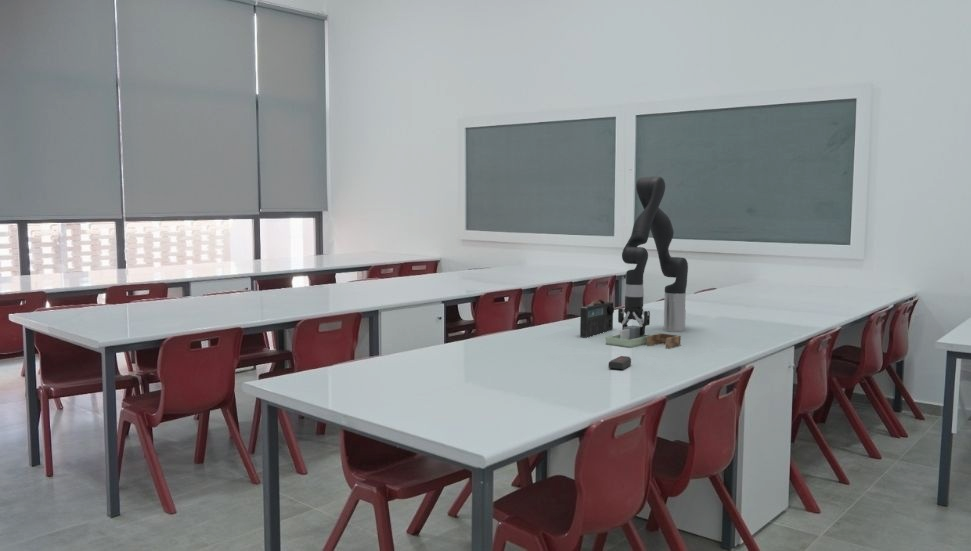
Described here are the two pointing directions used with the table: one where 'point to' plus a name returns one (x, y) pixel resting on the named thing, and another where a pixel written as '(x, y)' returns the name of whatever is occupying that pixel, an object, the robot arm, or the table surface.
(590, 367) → the table surface
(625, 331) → the grey block with stick
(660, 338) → the u-shaped wooden frame
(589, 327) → the radio
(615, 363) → the usb drive
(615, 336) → the tray
